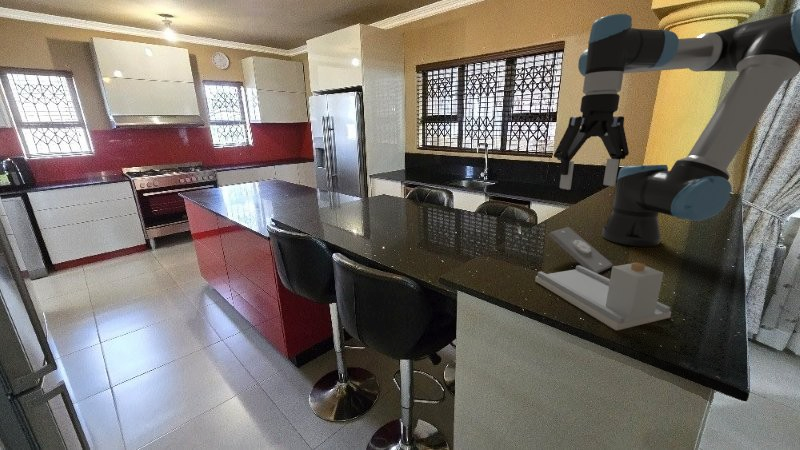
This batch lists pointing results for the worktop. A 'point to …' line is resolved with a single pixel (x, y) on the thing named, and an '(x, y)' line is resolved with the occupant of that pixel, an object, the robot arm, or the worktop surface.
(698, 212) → the robot arm
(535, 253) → the worktop surface
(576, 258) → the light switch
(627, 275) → the rail board
